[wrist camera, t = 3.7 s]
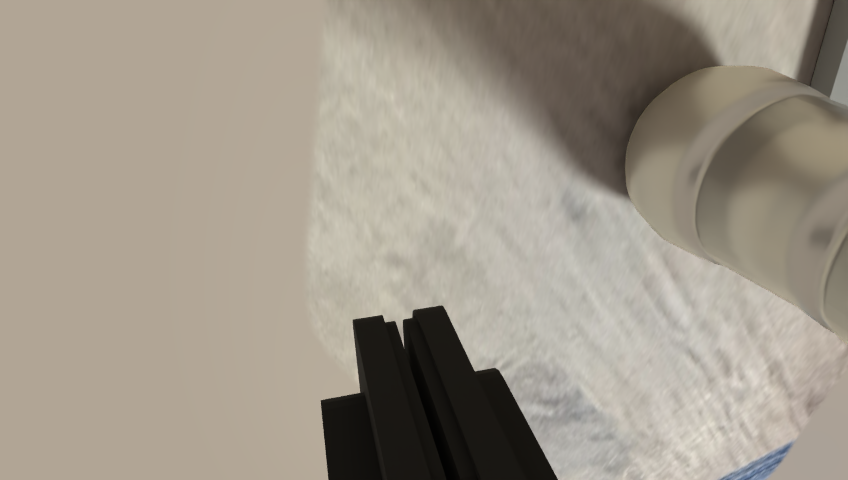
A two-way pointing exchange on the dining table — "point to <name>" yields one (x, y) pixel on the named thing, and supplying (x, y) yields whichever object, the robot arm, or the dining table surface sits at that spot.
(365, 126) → the dining table surface
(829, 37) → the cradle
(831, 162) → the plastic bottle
